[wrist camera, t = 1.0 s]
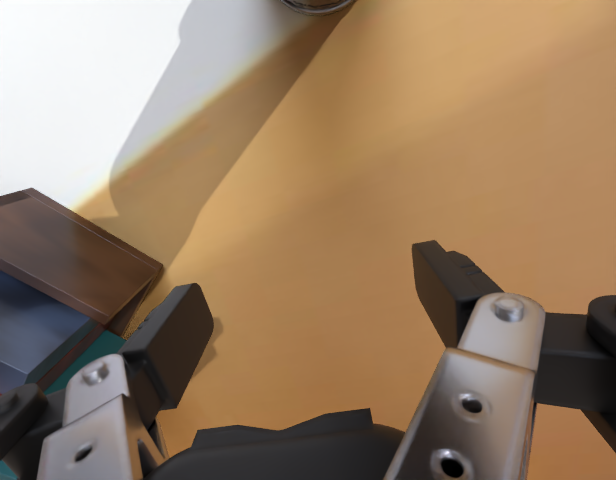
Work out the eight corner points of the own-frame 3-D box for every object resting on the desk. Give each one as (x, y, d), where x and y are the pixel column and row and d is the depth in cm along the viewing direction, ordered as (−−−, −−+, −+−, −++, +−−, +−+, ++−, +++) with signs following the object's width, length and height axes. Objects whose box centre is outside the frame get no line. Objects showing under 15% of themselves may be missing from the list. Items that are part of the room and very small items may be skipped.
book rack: (-2, 296, 38) (-195, 408, 24) (31, 187, 31) (-203, 252, 18) (112, 355, 40) (-2, 485, 27) (163, 264, 34) (49, 373, 20)
